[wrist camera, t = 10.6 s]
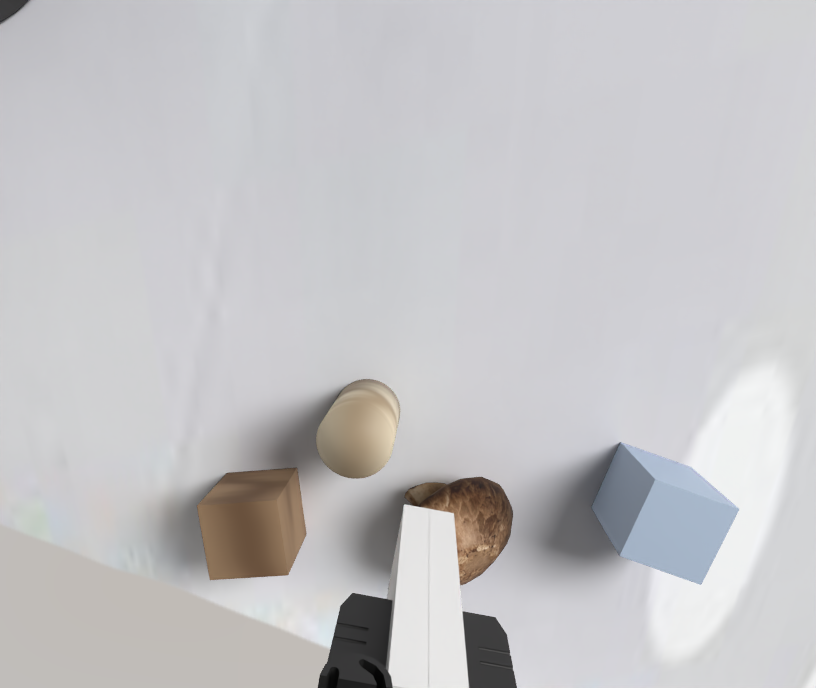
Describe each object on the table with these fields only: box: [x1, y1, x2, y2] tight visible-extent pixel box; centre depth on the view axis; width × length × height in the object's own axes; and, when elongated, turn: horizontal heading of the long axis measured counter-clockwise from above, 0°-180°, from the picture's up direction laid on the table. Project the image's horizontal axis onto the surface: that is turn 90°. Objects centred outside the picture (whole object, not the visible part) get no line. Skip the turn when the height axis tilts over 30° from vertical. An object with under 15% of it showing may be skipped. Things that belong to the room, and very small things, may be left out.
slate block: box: [591, 442, 739, 585], centre depth 34 cm, size 5×5×6 cm
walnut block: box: [197, 468, 306, 580], centre depth 36 cm, size 5×5×5 cm
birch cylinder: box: [316, 379, 400, 478], centre depth 34 cm, size 4×4×6 cm
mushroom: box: [405, 477, 513, 585], centre depth 36 cm, size 8×8×6 cm
